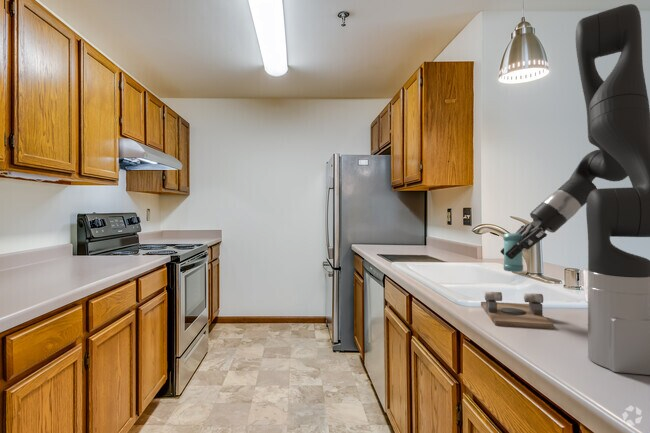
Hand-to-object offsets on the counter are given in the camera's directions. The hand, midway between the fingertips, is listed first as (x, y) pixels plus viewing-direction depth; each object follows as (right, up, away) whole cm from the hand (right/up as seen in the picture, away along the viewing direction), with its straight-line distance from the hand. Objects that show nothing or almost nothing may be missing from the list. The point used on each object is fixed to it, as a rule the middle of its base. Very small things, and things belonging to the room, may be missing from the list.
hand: (505, 255), depth 94 cm
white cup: (+35, -16, +11) cm, 40 cm away
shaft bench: (+2, -17, 0) cm, 17 cm away
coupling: (+2, -4, 0) cm, 4 cm away
